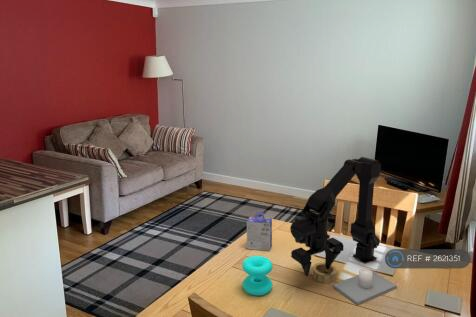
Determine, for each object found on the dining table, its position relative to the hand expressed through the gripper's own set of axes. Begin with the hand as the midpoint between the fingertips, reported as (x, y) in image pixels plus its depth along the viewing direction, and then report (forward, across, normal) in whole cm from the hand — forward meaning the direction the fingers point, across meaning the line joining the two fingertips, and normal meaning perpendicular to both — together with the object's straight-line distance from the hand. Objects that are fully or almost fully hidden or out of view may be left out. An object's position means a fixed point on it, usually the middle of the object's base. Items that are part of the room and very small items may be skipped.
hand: (316, 272), depth 132 cm
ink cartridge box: (+3, +5, -30) cm, 30 cm away
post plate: (+3, -10, +12) cm, 16 cm away
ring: (+3, -3, 0) cm, 4 cm away
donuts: (+3, +21, -6) cm, 22 cm away
